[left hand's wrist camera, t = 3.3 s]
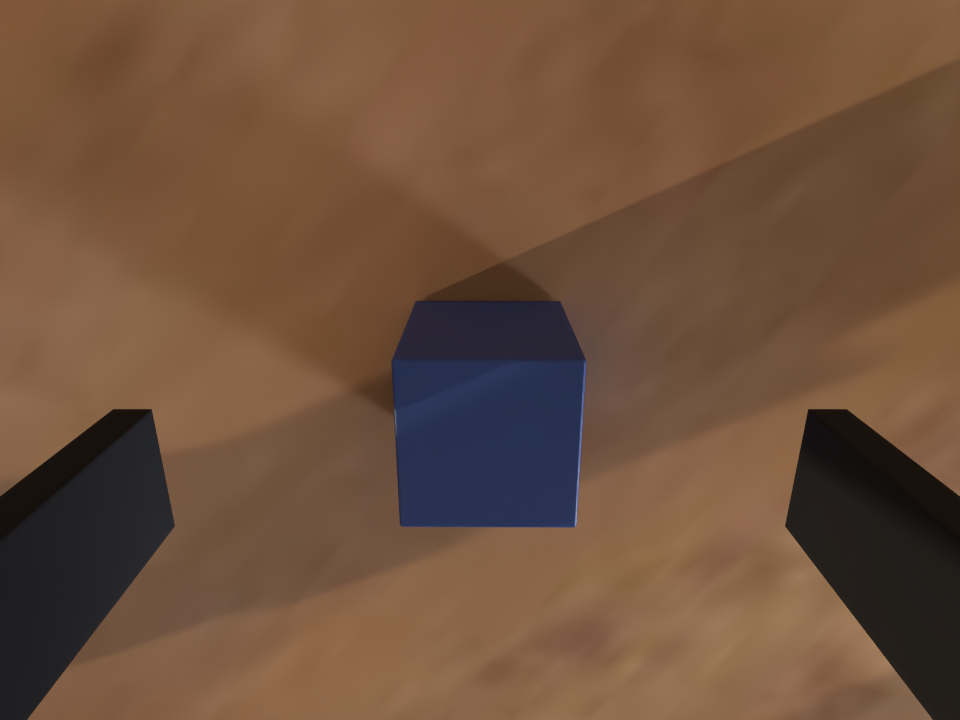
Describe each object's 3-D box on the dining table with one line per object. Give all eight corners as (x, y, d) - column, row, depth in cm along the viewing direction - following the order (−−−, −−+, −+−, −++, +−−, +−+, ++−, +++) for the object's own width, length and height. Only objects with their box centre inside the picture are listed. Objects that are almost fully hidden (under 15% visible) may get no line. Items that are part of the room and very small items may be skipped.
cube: (415, 300, 18) (391, 359, 13) (560, 300, 18) (586, 359, 13) (420, 433, 19) (399, 527, 15) (554, 433, 19) (576, 528, 15)
